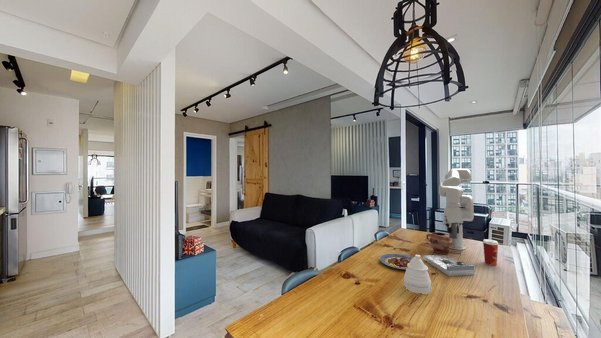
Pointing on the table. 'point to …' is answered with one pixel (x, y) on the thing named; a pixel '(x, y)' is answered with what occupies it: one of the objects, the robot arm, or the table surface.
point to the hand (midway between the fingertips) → (453, 232)
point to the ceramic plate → (396, 260)
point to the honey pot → (417, 276)
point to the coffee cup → (490, 251)
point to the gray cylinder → (453, 231)
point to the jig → (449, 265)
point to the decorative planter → (440, 242)
